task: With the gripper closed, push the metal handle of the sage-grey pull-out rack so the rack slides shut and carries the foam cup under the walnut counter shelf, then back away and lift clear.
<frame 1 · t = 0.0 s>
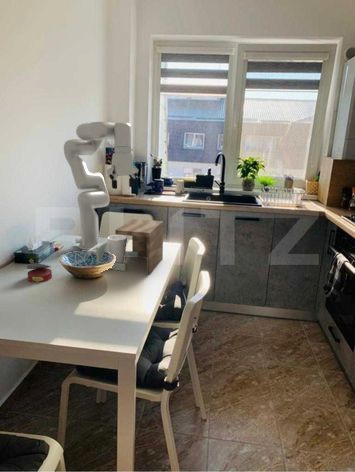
hand: (123, 187, 169), 37 cm above the table, tool pointing down, fingers open, 9 cm apart
counter shelf: (140, 265, 176), on the table
canned food: (40, 278, 157), on the table
foam cup: (117, 263, 178), on the table
pull out rack: (112, 252, 177), point 5 cm above the table, slide at 10.0 cm
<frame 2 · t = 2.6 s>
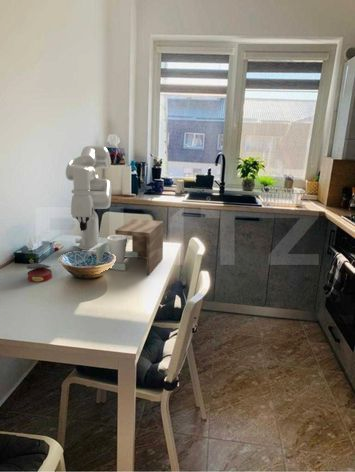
hand: (83, 230, 177), 16 cm above the table, tool pointing down, fingers closed
nothing on the table moved.
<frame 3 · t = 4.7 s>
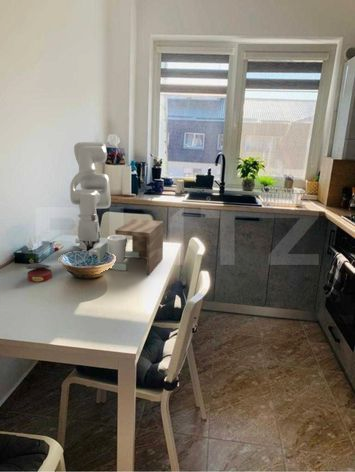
hand: (90, 253, 180), 4 cm above the table, tool pointing down, fingers closed
pull out rack: (113, 252, 177), point 5 cm above the table, slide at 9.5 cm, touching gripper
everything else where it was.
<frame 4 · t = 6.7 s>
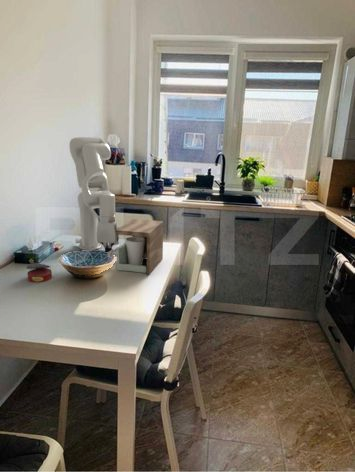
hand: (108, 254, 178), 4 cm above the table, tool pointing down, fingers closed
foam cup: (135, 264, 176), on the table, touching pull out rack
pull out rack: (132, 254, 175), point 5 cm above the table, slide at -0.2 cm, touching foam cup, gripper
everything else where it was.
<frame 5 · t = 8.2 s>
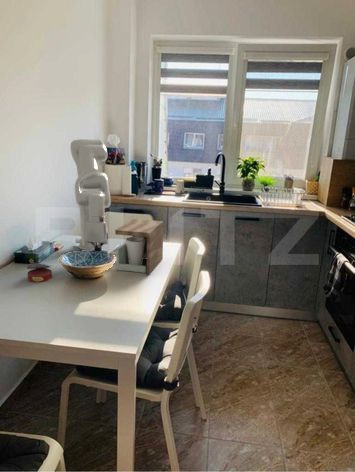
hand: (98, 254, 180), 3 cm above the table, tool pointing down, fingers closed
foam cup: (135, 265, 176), on the table
pull out rack: (131, 253, 175), point 5 cm above the table, slide at 0.0 cm
everything else where it was.
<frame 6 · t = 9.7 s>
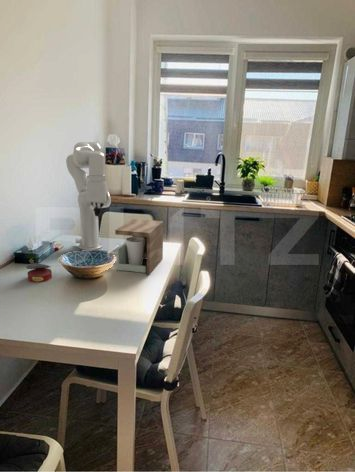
hand: (98, 215, 178), 22 cm above the table, tool pointing down, fingers closed
nothing on the table moved.
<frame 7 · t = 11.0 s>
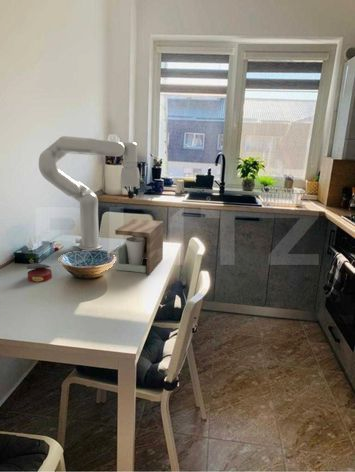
hand: (130, 198, 202), 27 cm above the table, tool pointing down, fingers closed
nothing on the table moved.
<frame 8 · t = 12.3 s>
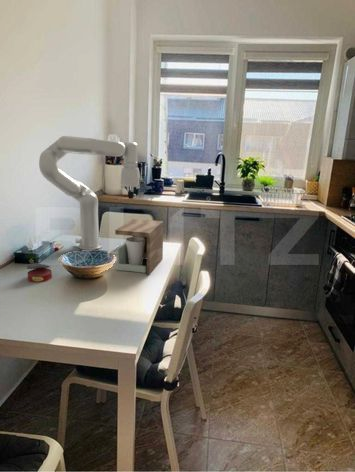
hand: (130, 198, 202), 27 cm above the table, tool pointing down, fingers closed
nothing on the table moved.
at the end: pull out rack slide at 0.0 cm; foam cup inside the target area (2.1 cm from its centre), on the table; foam cup tilted 0° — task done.
